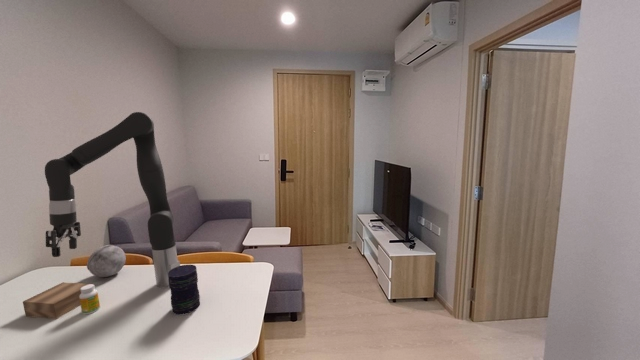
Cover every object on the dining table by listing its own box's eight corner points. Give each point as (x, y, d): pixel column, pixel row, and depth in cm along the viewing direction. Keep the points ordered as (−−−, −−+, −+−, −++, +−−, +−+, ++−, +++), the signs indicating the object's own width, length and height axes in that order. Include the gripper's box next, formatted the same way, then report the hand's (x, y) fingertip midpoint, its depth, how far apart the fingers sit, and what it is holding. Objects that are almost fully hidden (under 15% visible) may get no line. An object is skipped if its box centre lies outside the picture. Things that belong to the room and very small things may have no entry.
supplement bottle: (89, 315, 103) (85, 291, 101) (78, 314, 104) (74, 290, 103) (103, 306, 108) (100, 283, 107) (92, 305, 109) (88, 282, 108)
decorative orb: (109, 267, 143) (105, 240, 141) (134, 268, 141) (131, 240, 139) (81, 282, 128) (76, 251, 126) (109, 283, 126) (104, 252, 124)
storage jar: (206, 301, 109) (202, 266, 107) (186, 317, 100) (182, 278, 98) (186, 298, 112) (182, 263, 110) (165, 312, 103) (161, 274, 101)
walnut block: (93, 297, 115) (91, 284, 114) (56, 318, 101) (54, 303, 101) (65, 295, 117) (62, 282, 117) (25, 316, 104) (22, 301, 103)
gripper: (59, 215, 99) (62, 259, 100) (86, 207, 113) (88, 246, 114) (35, 215, 98) (38, 259, 99) (65, 207, 112) (67, 246, 113)
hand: (65, 252), depth 107 cm, fingers open, 8 cm apart
